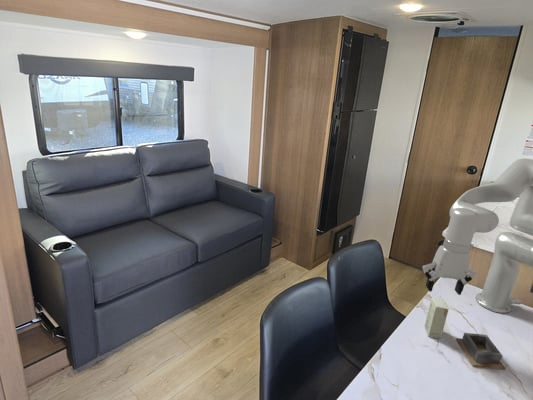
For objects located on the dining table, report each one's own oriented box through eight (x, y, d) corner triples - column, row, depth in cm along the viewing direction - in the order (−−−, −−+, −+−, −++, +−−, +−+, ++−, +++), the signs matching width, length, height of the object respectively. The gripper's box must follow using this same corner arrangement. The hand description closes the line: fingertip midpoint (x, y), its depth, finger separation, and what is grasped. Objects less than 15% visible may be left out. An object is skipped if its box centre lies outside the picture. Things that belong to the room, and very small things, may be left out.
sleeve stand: (484, 342, 122) (488, 332, 121) (504, 369, 111) (508, 359, 109) (455, 339, 122) (458, 329, 121) (472, 366, 111) (476, 355, 110)
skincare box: (441, 339, 122) (449, 309, 118) (427, 336, 123) (436, 307, 119) (436, 327, 128) (444, 299, 124) (423, 325, 129) (431, 296, 125)
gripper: (477, 243, 117) (463, 287, 123) (425, 238, 118) (413, 282, 123) (489, 254, 110) (474, 300, 116) (433, 248, 111) (421, 294, 116)
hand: (443, 290), depth 120 cm, fingers open, 9 cm apart
